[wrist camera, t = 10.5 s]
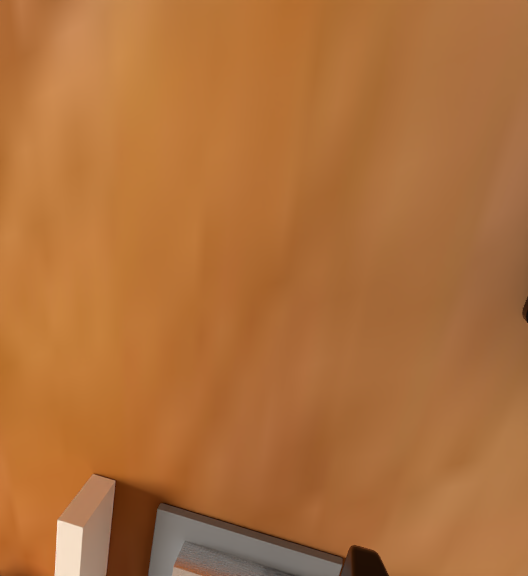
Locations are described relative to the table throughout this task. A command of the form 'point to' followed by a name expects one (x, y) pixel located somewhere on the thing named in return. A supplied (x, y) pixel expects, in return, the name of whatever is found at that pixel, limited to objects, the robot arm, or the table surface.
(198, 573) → the aluminium bracket
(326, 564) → the pad
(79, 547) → the white l-shaped block
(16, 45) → the table surface
